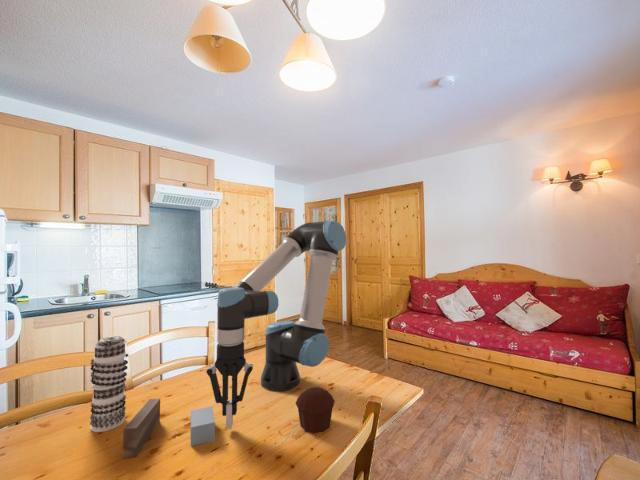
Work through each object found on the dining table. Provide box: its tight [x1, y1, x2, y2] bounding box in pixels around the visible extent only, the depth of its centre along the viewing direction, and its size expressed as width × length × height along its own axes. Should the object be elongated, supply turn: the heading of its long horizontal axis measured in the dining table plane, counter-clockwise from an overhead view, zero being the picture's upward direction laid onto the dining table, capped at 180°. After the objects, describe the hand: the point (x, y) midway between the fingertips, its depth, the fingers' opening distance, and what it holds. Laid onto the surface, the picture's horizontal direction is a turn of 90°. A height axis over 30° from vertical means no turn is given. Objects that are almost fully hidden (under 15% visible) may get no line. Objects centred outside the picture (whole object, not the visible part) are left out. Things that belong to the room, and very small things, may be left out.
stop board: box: [122, 398, 161, 459], centre depth 81 cm, size 3×15×7 cm, turn 8°
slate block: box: [190, 406, 216, 447], centre depth 83 cm, size 6×9×5 cm, turn 24°
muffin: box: [295, 386, 336, 435], centre depth 88 cm, size 12×11×10 cm
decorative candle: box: [89, 335, 129, 433], centre depth 88 cm, size 9×9×25 cm
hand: (229, 426), depth 84 cm, fingers closed
